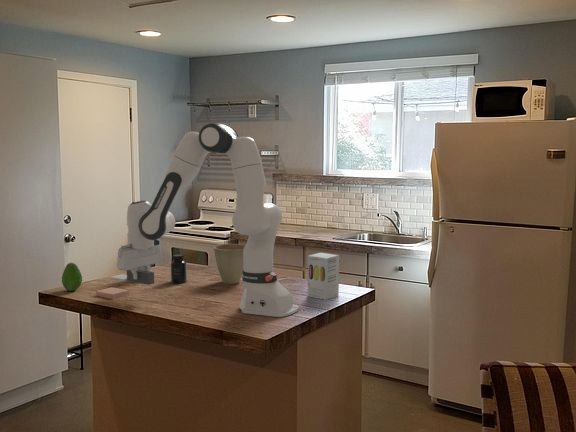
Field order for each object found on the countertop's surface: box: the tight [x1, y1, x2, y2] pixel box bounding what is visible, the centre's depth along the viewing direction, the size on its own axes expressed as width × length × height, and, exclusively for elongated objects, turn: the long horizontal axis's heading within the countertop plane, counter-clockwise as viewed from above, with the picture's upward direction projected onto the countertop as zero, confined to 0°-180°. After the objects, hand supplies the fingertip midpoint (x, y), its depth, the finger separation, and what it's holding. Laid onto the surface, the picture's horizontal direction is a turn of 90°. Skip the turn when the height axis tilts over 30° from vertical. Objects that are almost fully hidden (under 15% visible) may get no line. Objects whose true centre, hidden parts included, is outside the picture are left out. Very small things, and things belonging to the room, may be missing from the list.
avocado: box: [61, 262, 83, 292], centre depth 246 cm, size 8×8×12 cm
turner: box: [109, 269, 155, 286], centre depth 232 cm, size 20×6×4 cm, turn 57°
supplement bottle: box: [170, 254, 188, 284], centre depth 262 cm, size 7×7×12 cm
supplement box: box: [307, 252, 340, 301], centre depth 238 cm, size 10×9×17 cm
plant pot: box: [213, 243, 246, 285], centre depth 262 cm, size 15×15×16 cm
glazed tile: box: [95, 287, 129, 300], centre depth 240 cm, size 2×8×10 cm
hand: (140, 277), depth 230 cm, fingers closed on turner, 3 cm apart
